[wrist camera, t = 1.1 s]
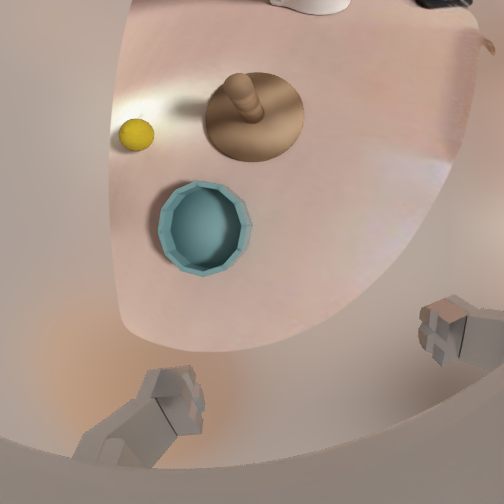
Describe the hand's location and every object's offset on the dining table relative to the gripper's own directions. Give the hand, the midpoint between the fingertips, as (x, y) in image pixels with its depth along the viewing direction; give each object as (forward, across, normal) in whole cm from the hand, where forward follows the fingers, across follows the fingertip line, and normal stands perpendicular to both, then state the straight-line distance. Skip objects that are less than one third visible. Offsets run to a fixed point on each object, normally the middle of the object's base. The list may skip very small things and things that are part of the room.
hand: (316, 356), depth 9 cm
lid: (+38, -4, -16) cm, 42 cm away
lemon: (+43, +15, -18) cm, 49 cm away
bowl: (+38, +7, 0) cm, 39 cm away
